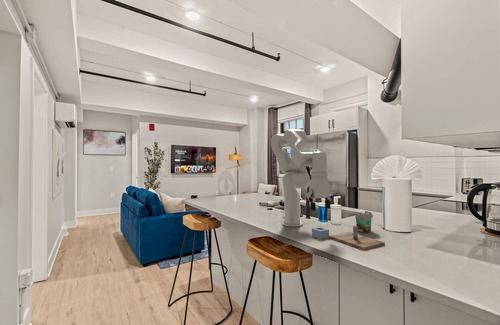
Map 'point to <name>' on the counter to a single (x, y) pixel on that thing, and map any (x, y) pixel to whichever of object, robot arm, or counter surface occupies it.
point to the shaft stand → (357, 240)
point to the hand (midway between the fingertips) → (320, 209)
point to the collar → (320, 232)
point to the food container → (364, 222)
